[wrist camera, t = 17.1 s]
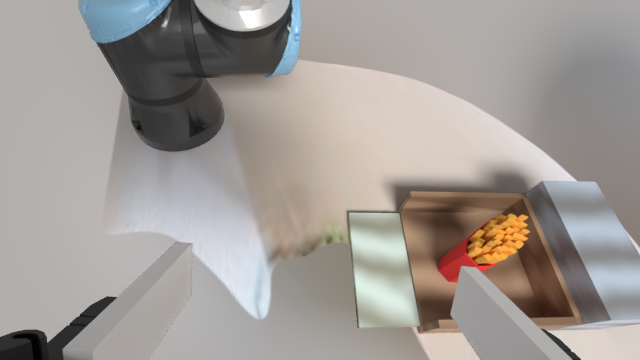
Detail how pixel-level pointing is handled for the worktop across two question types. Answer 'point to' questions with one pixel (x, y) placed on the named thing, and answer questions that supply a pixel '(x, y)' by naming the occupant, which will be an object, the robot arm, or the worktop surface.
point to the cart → (507, 275)
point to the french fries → (485, 246)
